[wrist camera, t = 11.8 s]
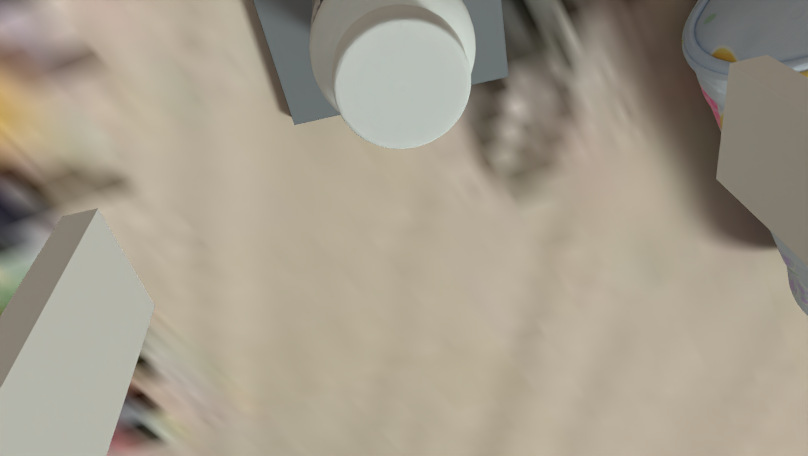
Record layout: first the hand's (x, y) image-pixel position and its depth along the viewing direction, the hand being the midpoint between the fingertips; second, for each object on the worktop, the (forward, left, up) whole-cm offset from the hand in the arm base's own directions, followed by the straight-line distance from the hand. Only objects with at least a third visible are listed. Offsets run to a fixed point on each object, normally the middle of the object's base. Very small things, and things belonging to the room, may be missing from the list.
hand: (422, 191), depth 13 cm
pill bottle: (0, 0, -15) cm, 15 cm away
